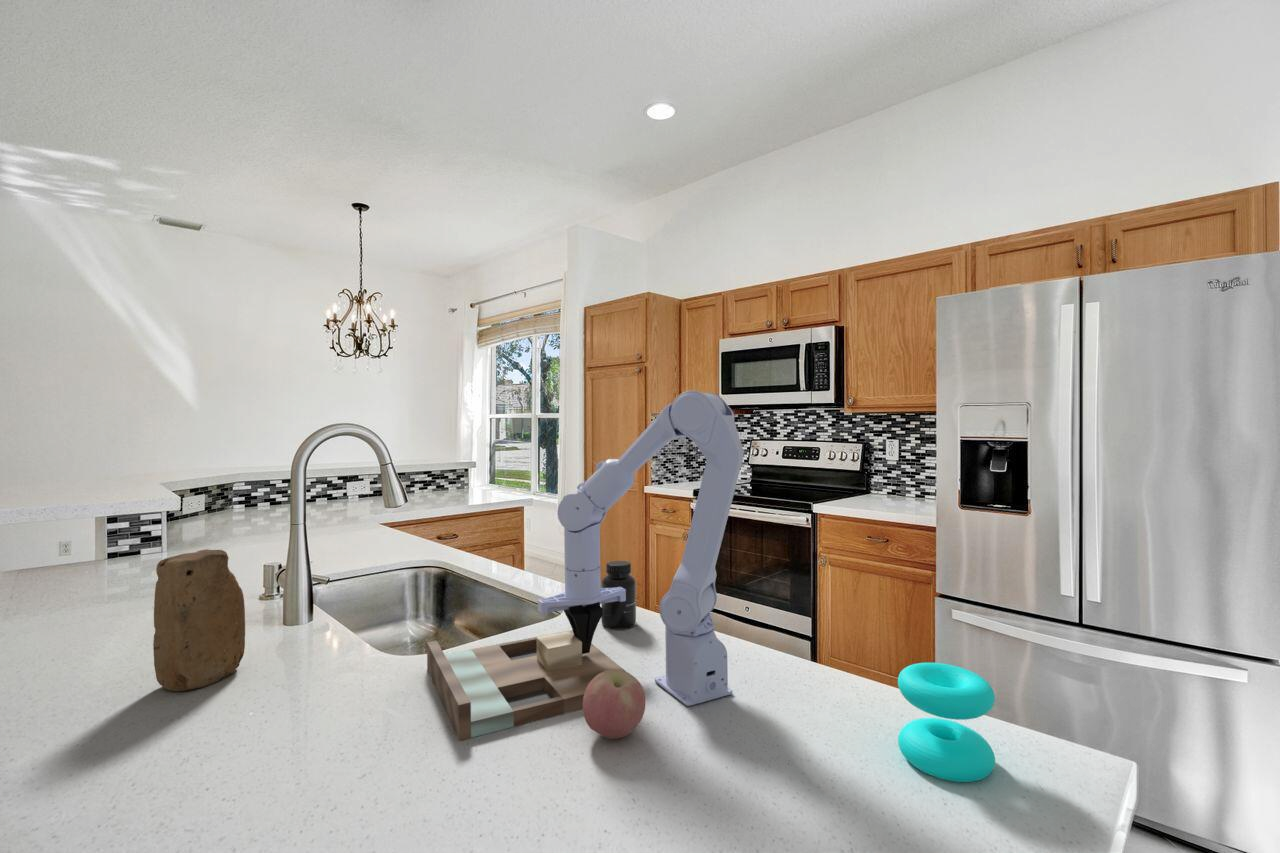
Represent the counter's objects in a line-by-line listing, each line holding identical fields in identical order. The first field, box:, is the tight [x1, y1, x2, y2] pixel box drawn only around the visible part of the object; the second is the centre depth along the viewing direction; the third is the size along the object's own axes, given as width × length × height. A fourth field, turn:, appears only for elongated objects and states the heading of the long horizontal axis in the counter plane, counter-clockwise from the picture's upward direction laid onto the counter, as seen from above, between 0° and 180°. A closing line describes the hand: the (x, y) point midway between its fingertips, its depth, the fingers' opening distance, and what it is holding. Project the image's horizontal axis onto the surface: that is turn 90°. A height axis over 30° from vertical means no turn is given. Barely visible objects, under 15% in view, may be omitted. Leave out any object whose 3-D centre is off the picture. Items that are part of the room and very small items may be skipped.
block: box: [152, 549, 246, 692], centre depth 94 cm, size 11×8×20 cm
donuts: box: [897, 662, 996, 783], centre depth 69 cm, size 10×10×10 cm
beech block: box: [536, 630, 582, 672], centre depth 94 cm, size 6×6×4 cm
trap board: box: [426, 629, 626, 742], centre depth 92 cm, size 24×26×4 cm
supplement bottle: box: [600, 560, 637, 630], centre depth 117 cm, size 7×7×12 cm
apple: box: [582, 669, 646, 740], centre depth 76 cm, size 8×8×8 cm
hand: (583, 651), depth 96 cm, fingers closed
